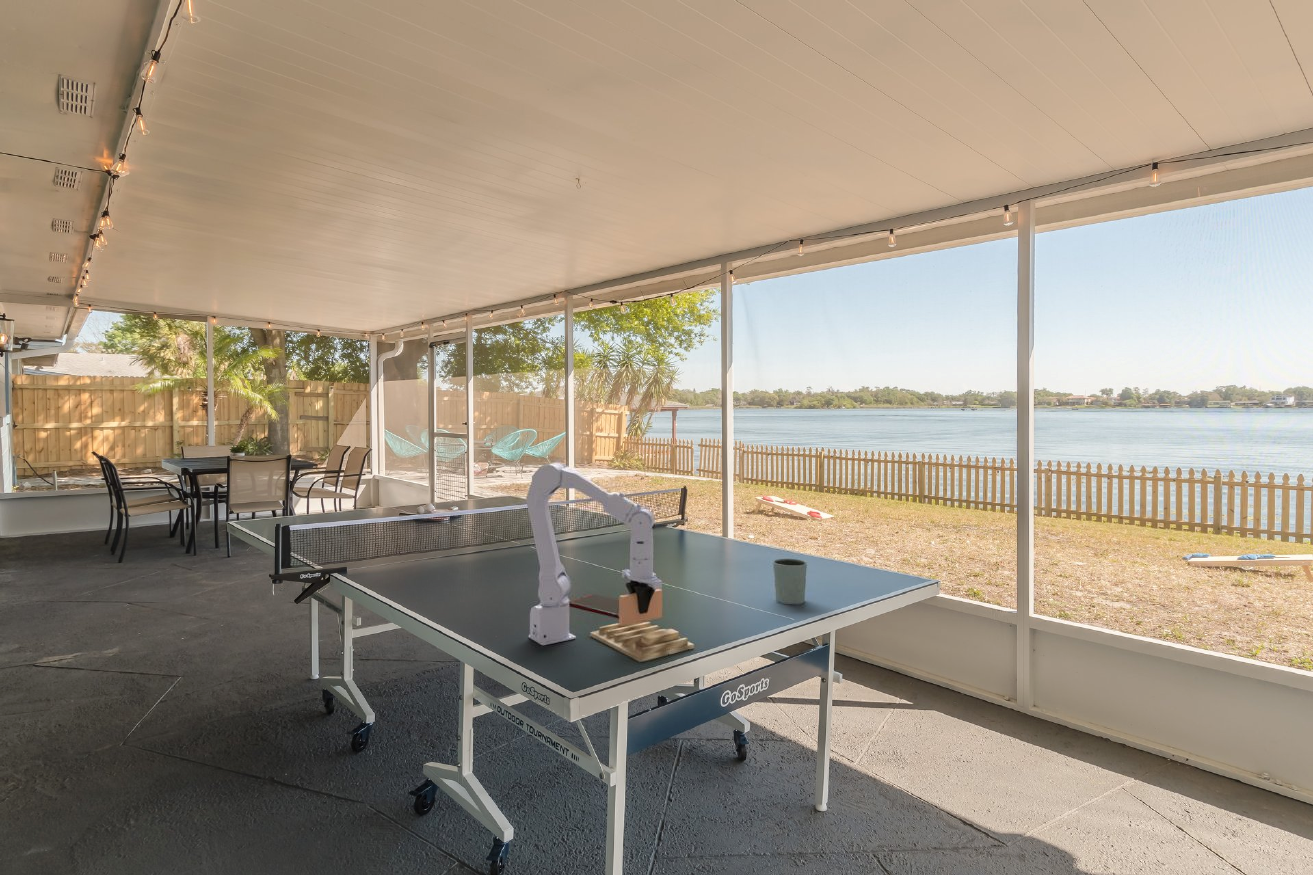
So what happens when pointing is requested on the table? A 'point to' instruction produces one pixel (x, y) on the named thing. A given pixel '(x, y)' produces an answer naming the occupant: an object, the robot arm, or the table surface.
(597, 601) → the dark red board
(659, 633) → the offcut upper
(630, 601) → the upright wooden plank
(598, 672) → the table surface
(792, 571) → the green cup
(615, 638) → the rack
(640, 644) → the offcut lower
